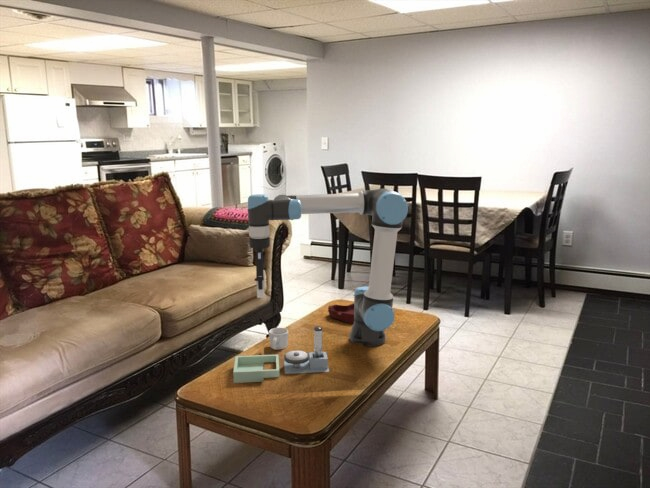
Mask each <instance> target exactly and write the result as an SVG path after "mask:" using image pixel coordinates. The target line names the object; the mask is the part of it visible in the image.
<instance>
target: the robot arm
mask: <svg viewBox="0 0 650 488" xmlns="http://www.w3.org/2000/svg"><path fill="white" fill-rule="evenodd" d="M408 206H409V205H408V201H407V200H406V199H405V197H404V196H403V195H402V194H401V193H399V192H397V191H393V190H391V189H387V188H377V189H368V190H367V189H366V190H365V189H364V190H359V191H358V192H357V193H355V192H354V193H326V194H297V195H296V194H294V195H292V194H291V195H287V194H279V195H276V196H275V197H274V199H269V196H268V194H263V193H262V194H258V193H257V194H251V195H249V196H248V197H247V217H248V218H247V219H248V220H247V221H248V227H247V228H246V231H248V236H249V238H248V245H249V248H250V249H255V250H256V251H254V254H253V255H254V262H255V263H254V264H255V265H256V266H255V267H256V268H255V270H256V272H255V273H256V277H255V278H254V281H255V282H256V298H257V299H260V298H261V299H262V298H265V288H266V271H267V267H266V265H265V262H266V251H264V249H267V248H270V243H271V242H270V241H271V240H270V235H271V234H270V221H294V220H300V219H301V218H302V215H311V214H312V215H314V214H344V213H345V214H346V213H359V215H361V216H362V215H366V216H367V215H369V216H372V218H371V219H372V220H371V226H372V227H373V228H374V235H373V245H372V254H371V263H370V271H369V280H368V286H367V285H366V286H358V287H356V288H355V289H354V291H353V292H354V294H353V301H354V302H353V303H354V323H352V327H351V330H350V331H349V332H350V333H349V341H350V342H351V343H352V344H362V346H363V347H375V346H376V347H377V346H380V345H382V344H384V343H385V342H386V333H385V330H387V329H389V328H390V327H391V326H392V325H393V324H394V321H395V317H396V315H395V314H396V313H395V310H394V309H393V307H394V306H393V304H394V295H393V294H392V293H391V290H392V289H391V288H392V280H393V273H394V272H393V271H394V264H395V263H394V262H395V255H396V247H397V238H398V232H399V231H400V230H401V229H402V228H403V222H404V220H405V219H406V218H407V215H408V212H409V207H408Z"/></svg>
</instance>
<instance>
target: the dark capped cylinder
mask: <svg viewBox="0 0 650 488" xmlns="http://www.w3.org/2000/svg"><path fill="white" fill-rule="evenodd" d="M313 328H314V329H313V352H314V358H322V352H323V326H320V325H319V326H314V327H313Z"/></svg>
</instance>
